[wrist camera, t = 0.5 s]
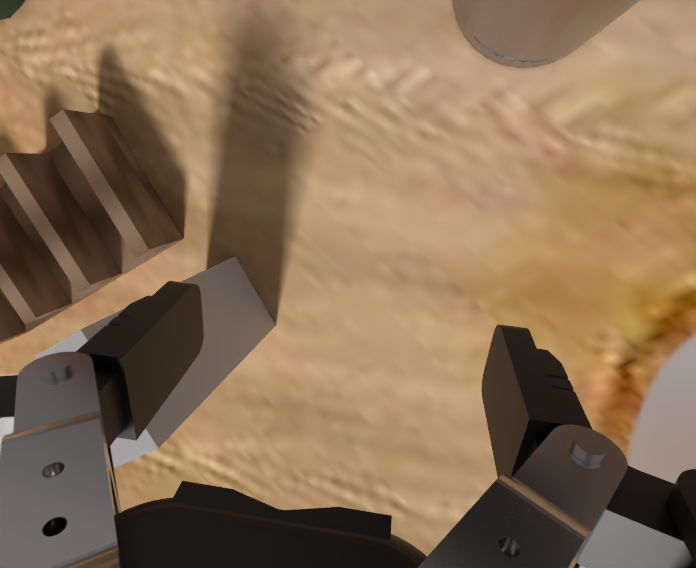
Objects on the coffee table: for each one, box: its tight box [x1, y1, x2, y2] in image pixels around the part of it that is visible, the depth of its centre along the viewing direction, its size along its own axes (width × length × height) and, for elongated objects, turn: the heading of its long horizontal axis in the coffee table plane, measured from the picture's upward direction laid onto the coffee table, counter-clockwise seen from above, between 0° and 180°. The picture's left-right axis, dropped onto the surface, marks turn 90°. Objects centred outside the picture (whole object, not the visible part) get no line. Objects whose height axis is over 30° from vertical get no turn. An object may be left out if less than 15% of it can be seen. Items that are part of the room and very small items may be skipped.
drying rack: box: [0, 109, 183, 344], centre depth 34 cm, size 10×17×4 cm, turn 119°
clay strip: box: [35, 256, 276, 468], centre depth 28 cm, size 6×3×16 cm, turn 29°
